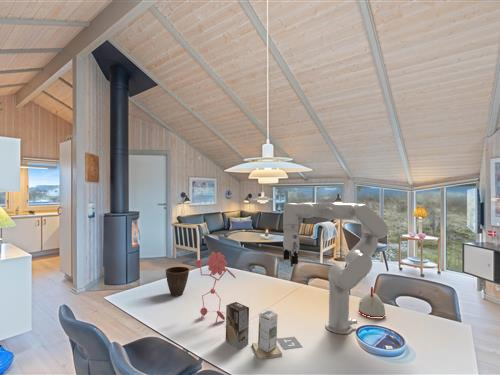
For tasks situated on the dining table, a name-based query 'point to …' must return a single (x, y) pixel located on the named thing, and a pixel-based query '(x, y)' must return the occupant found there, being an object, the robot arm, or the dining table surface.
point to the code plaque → (289, 343)
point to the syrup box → (267, 330)
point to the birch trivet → (264, 354)
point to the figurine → (215, 265)
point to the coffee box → (237, 324)
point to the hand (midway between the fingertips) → (290, 261)
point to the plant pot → (177, 279)
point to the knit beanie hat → (371, 305)
